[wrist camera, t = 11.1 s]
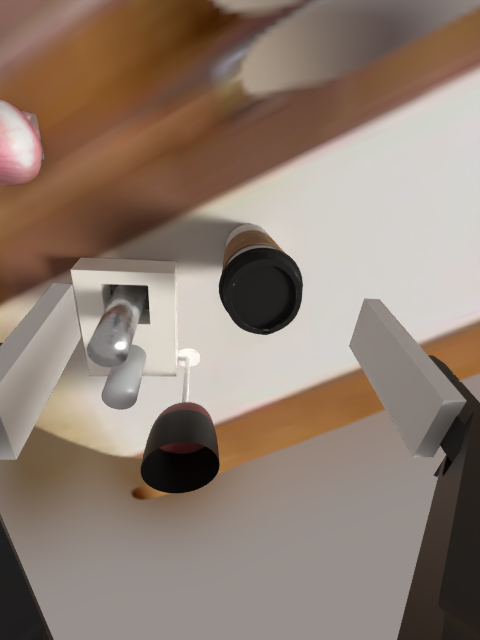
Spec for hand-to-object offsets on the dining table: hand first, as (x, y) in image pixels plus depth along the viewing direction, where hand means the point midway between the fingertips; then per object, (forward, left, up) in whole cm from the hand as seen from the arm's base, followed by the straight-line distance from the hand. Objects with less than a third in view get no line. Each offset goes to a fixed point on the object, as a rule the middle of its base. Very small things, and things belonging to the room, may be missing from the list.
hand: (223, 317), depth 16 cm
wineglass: (+25, -3, -31) cm, 40 cm away
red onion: (-4, -21, -30) cm, 37 cm away
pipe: (+14, -10, -30) cm, 35 cm away
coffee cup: (+7, +5, -30) cm, 31 cm away
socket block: (+17, -10, -30) cm, 36 cm away
